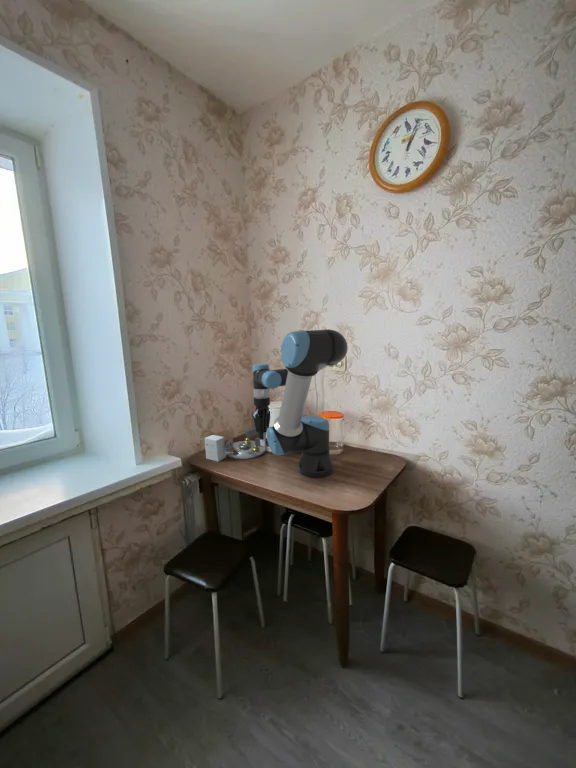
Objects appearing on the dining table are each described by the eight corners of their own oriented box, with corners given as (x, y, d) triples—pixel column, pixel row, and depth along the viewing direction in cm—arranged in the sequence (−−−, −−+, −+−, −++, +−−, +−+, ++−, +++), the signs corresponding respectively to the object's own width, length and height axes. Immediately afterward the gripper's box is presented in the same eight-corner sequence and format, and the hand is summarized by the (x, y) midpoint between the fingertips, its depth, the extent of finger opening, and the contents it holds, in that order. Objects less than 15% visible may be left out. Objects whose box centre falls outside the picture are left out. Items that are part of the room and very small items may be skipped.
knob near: (251, 450, 161) (250, 439, 160) (254, 448, 164) (253, 436, 163) (270, 452, 158) (270, 440, 157) (273, 449, 162) (272, 437, 161)
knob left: (228, 448, 165) (228, 437, 164) (236, 448, 165) (235, 437, 164) (224, 456, 155) (223, 444, 154) (231, 456, 155) (231, 444, 154)
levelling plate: (273, 448, 169) (272, 440, 169) (248, 462, 153) (247, 454, 152) (243, 441, 180) (242, 435, 179) (216, 454, 164) (216, 447, 163)
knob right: (248, 443, 170) (247, 432, 169) (242, 442, 172) (242, 431, 171) (259, 438, 179) (259, 427, 177) (254, 437, 180) (253, 426, 179)
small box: (226, 457, 159) (224, 436, 157) (218, 462, 155) (216, 440, 153) (214, 454, 164) (212, 434, 162) (205, 458, 159) (204, 437, 157)
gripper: (263, 394, 163) (264, 440, 166) (247, 398, 152) (248, 448, 156) (275, 395, 159) (276, 443, 162) (260, 400, 148) (261, 450, 152)
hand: (263, 445), depth 159 cm, fingers closed
